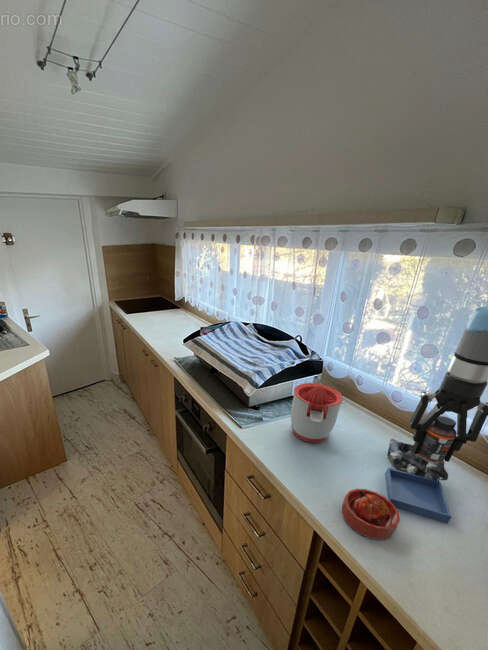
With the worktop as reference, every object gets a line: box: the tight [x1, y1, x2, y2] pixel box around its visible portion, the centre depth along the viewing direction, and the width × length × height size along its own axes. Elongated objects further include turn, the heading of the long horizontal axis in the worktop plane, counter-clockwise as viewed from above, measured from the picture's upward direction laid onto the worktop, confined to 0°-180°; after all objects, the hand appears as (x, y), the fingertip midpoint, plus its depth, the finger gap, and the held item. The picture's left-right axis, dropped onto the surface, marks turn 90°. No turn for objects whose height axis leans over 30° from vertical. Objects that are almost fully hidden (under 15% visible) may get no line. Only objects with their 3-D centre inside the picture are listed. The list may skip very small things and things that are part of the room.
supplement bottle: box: [418, 415, 457, 462], centre depth 78 cm, size 6×6×11 cm
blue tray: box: [384, 467, 453, 525], centre depth 85 cm, size 13×13×3 cm
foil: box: [387, 438, 449, 481], centre depth 94 cm, size 12×11×15 cm
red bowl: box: [341, 488, 401, 540], centre depth 79 cm, size 12×12×4 cm
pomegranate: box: [354, 490, 389, 526], centre depth 78 cm, size 7×7×10 cm
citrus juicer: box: [290, 382, 344, 444], centre depth 107 cm, size 16×17×20 cm
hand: (430, 454), depth 80 cm, fingers closed on supplement bottle, 6 cm apart
